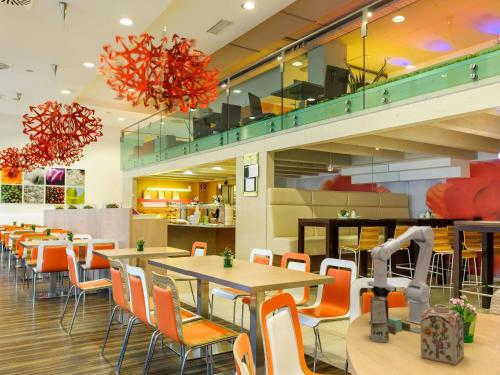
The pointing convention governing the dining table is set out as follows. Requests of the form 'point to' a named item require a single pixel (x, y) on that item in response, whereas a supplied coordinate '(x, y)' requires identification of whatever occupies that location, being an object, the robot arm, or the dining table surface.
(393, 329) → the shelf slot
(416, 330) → the mat
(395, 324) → the block
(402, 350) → the dining table surface
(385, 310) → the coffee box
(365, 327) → the dining table surface
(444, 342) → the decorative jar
